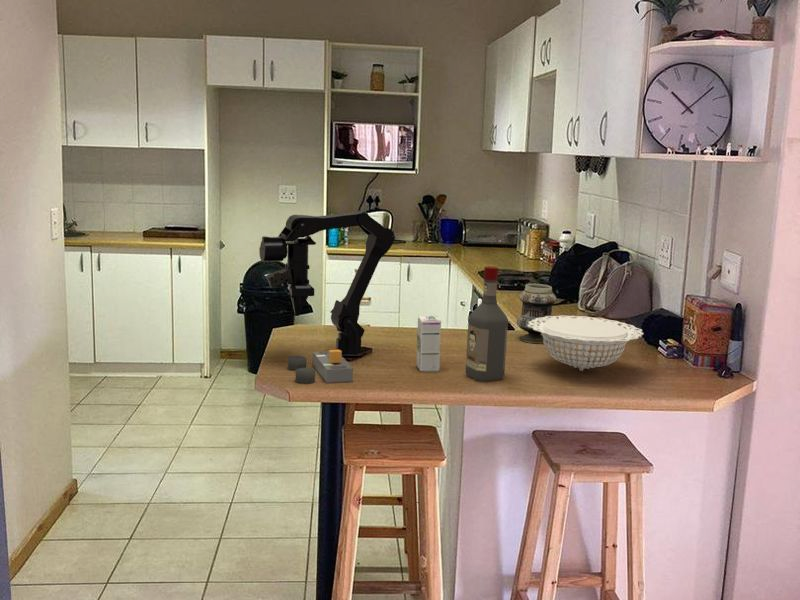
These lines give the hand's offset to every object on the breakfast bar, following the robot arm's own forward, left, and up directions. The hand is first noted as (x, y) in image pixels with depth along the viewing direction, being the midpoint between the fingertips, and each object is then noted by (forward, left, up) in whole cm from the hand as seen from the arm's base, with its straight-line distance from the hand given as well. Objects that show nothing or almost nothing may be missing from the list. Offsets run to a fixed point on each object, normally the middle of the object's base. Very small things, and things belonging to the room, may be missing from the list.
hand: (296, 315), depth 232 cm
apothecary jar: (-80, -11, -13) cm, 82 cm away
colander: (-77, +25, -13) cm, 82 cm away
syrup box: (-34, +16, -13) cm, 40 cm away
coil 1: (+2, +10, -13) cm, 16 cm away
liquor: (-47, +26, -13) cm, 55 cm away
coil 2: (+2, +22, -13) cm, 25 cm away
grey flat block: (-7, +16, -12) cm, 21 cm away
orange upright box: (-7, +19, -9) cm, 22 cm away
